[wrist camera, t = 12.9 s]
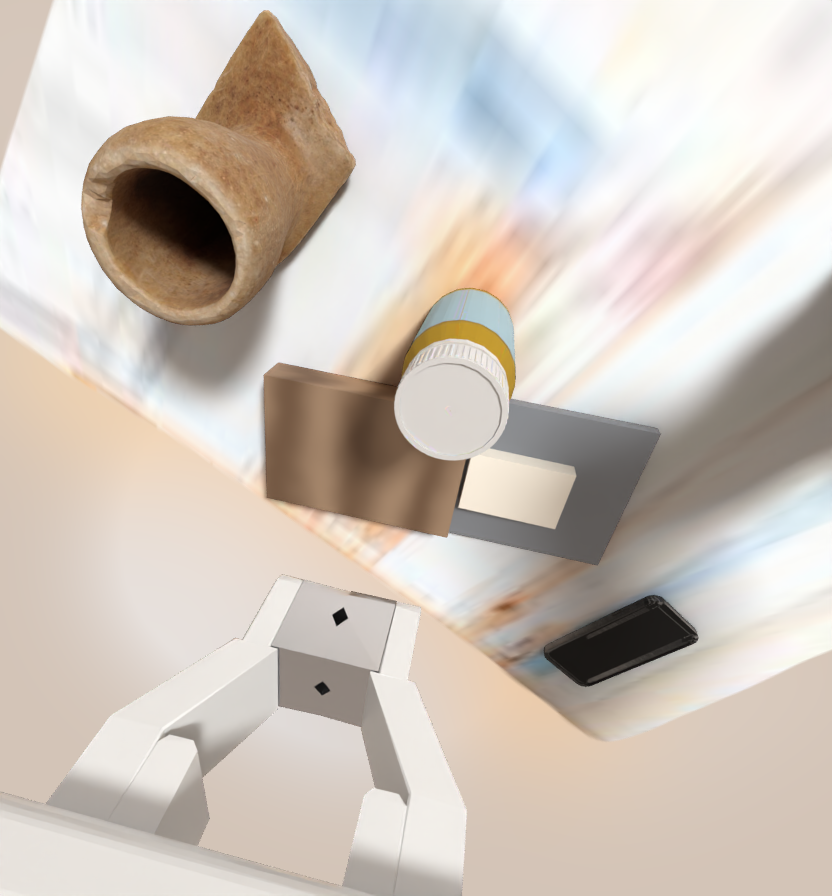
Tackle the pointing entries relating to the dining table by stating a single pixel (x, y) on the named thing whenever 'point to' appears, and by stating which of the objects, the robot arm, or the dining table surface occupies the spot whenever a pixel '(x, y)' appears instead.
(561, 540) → the mat
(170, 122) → the stone cup
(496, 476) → the tile
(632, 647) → the phone
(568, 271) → the dining table surface
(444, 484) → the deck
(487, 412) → the bottle
